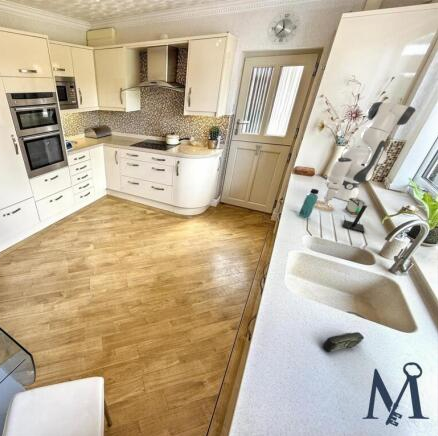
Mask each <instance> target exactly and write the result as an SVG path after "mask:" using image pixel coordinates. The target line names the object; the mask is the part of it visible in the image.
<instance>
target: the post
mask: <svg viewBox="0 0 438 436" xmlns="http://www.w3.org/2000/svg"><path fill="white" fill-rule="evenodd" d="M367 207H368V206H367V205H366V204H365V205H363V206H362V208H361V210H360V211H359V213H358V215H356V216H355V219H354V220H353V221H349V220H346V219H343V223H342V226H343V229H346V230H351V231H354V232H358V233H361V234H364V233H365V228H364V224H362V223H359V221H360V220H361V218H362V216H363V215H364V213H365V211H366V209H367Z"/></svg>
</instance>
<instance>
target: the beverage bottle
mask: <svg viewBox="0 0 438 436" xmlns="http://www.w3.org/2000/svg"><path fill="white" fill-rule="evenodd" d="M309 192H310V193H308V194H306V197H305V198H304V201H303V203H302V205H301V207H300V209H299V212H298V215H299V216H300V217H303V218H307V219H308V218H310V216H311V214H312V212H313V210H314V208H315V207H314V205H315V204H317V203H316V201H317V200H318V199H319V196H318V194H319V189H316V188H311V189H310V190H309Z"/></svg>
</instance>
